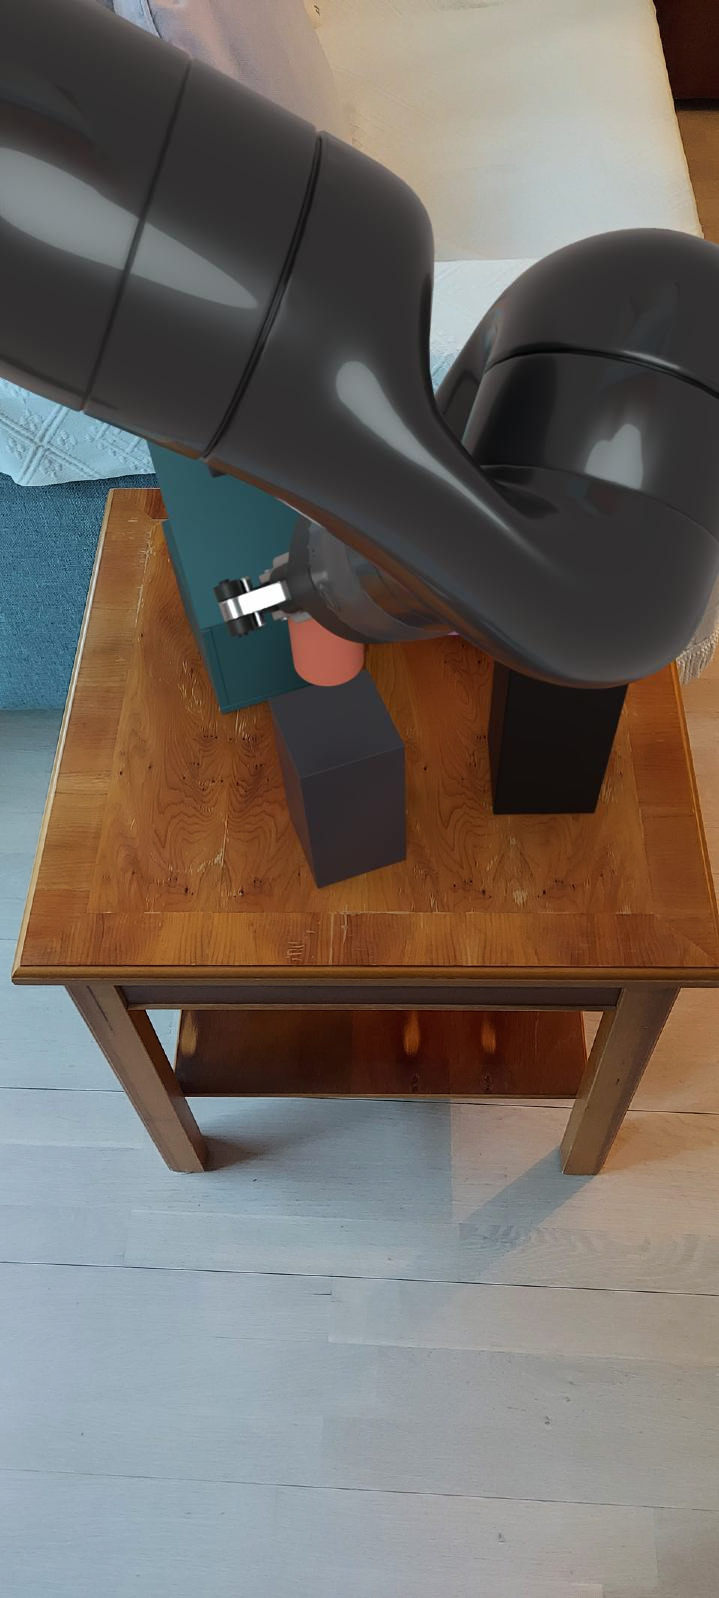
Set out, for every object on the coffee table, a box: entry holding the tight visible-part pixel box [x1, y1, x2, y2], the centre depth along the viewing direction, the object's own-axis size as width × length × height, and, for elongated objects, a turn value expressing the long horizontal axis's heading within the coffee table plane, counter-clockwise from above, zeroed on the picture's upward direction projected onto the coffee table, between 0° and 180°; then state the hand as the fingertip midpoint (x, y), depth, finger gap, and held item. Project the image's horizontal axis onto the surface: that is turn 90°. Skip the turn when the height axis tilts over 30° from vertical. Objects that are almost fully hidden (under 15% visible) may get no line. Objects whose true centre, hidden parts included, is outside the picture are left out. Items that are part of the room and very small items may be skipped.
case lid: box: [145, 440, 300, 629], centre depth 70 cm, size 14×12×5 cm
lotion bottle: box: [288, 617, 365, 686], centre depth 56 cm, size 4×4×8 cm
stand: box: [267, 668, 407, 890], centre depth 70 cm, size 7×7×14 cm
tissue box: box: [486, 659, 630, 816], centre depth 67 cm, size 8×8×28 cm
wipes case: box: [160, 519, 315, 715], centre depth 84 cm, size 14×12×10 cm
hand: (309, 584), depth 57 cm, fingers closed on lotion bottle, 4 cm apart
